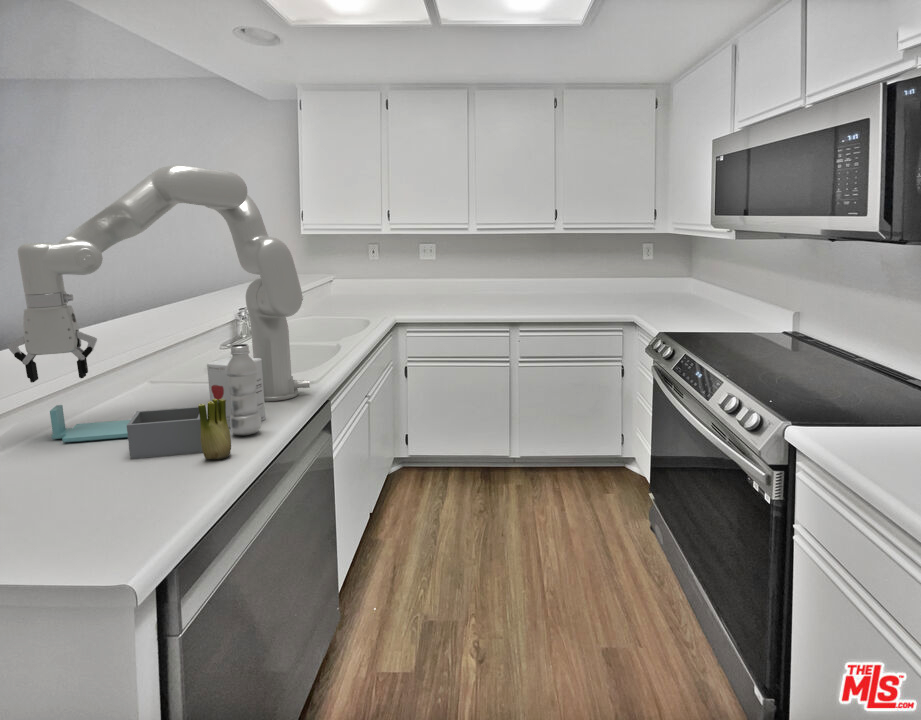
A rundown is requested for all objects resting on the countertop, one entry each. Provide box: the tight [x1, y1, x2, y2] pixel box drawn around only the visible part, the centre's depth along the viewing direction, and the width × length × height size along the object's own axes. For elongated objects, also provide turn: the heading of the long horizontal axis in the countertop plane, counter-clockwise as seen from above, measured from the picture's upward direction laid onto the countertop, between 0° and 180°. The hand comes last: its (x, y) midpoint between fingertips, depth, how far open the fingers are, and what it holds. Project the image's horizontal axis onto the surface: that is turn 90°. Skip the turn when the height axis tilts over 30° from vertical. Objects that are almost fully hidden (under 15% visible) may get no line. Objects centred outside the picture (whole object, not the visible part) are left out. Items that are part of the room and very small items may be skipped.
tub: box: [127, 405, 207, 460], centre depth 151 cm, size 14×11×7 cm
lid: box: [49, 404, 131, 443], centre depth 161 cm, size 18×12×7 cm, turn 104°
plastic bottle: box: [226, 343, 262, 436], centre depth 158 cm, size 6×7×20 cm
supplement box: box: [206, 355, 266, 429], centre depth 168 cm, size 9×9×15 cm
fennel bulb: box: [197, 399, 232, 461], centre depth 143 cm, size 6×5×12 cm
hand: (58, 379), depth 158 cm, fingers open, 9 cm apart
